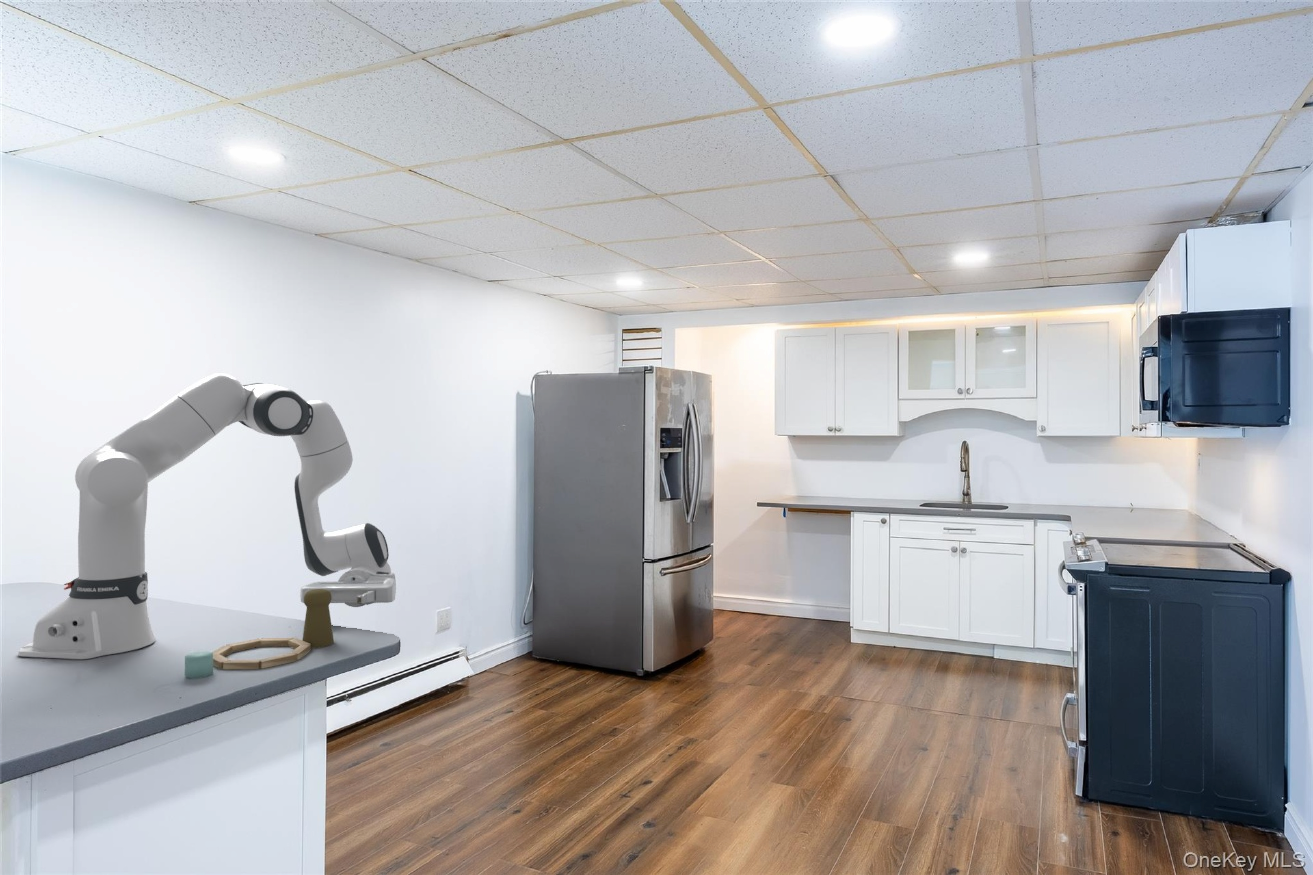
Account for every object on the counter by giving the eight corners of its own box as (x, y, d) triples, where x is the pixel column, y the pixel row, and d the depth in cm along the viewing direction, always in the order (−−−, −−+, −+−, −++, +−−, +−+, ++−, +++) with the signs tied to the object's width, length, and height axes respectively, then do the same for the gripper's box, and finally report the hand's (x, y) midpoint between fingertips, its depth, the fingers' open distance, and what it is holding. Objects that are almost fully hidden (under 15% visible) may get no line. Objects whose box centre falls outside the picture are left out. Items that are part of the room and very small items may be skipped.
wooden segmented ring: (193, 669, 148) (193, 663, 148) (235, 644, 164) (235, 638, 164) (287, 668, 149) (287, 662, 149) (320, 643, 165) (320, 637, 165)
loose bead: (179, 678, 143) (179, 659, 143) (192, 671, 147) (192, 651, 147) (205, 678, 143) (205, 658, 143) (217, 670, 148) (217, 651, 147)
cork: (322, 649, 161) (322, 593, 161) (295, 647, 163) (294, 592, 162) (340, 640, 167) (339, 587, 167) (313, 639, 168) (313, 586, 168)
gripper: (312, 573, 190) (288, 586, 176) (401, 573, 191) (385, 585, 177) (312, 600, 190) (289, 615, 176) (401, 599, 191) (385, 614, 177)
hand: (338, 600), depth 177 cm, fingers open, 8 cm apart
